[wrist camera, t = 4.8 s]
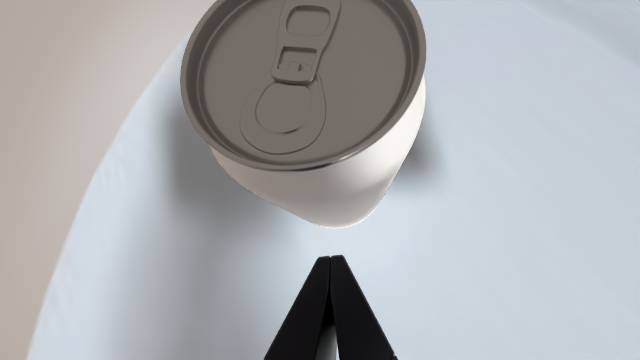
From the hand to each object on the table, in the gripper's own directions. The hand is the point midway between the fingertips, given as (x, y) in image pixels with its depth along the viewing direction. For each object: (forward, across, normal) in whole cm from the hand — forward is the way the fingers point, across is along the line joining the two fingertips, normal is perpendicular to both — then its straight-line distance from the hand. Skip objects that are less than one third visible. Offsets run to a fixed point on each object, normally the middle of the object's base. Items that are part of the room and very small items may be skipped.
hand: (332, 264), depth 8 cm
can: (+9, 0, +2) cm, 9 cm away
